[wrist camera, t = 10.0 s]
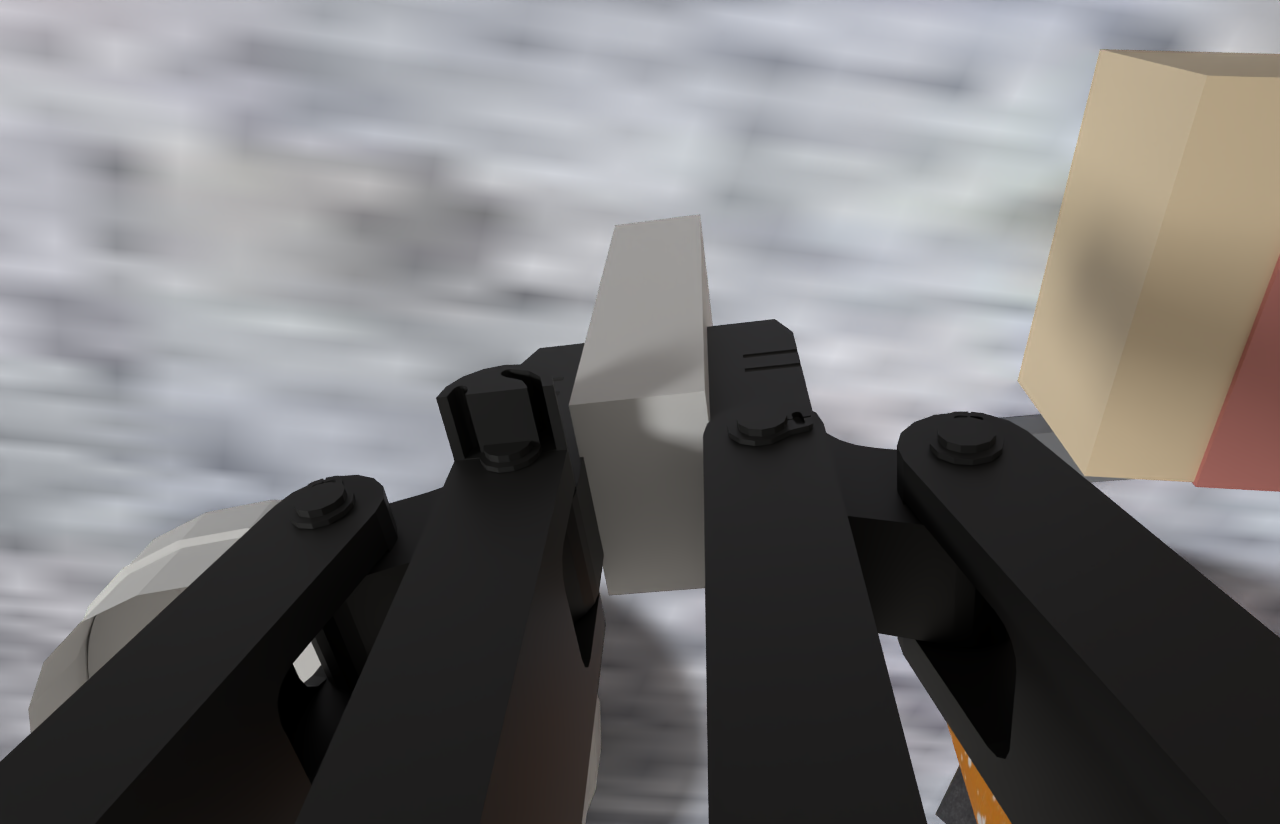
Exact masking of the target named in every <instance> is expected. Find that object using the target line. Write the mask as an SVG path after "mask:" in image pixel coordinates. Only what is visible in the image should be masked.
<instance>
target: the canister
mask: <svg viewBox="0 0 1280 824" xmlns="http://www.w3.org/2000/svg"><path fill="white" fill-rule="evenodd" d="M947 725H948V724H947ZM948 728H949V731H950V735H951V738H952V741H953V745H954V748H955V751H956V755H957V758H958V761H959V767H958V769H957V771H956V773H955V775H954V777H953V779H952V781H951V783H950V785H949V787H948V790H947V792H946V794H945V796H944V798H943V800H942V802H941V804H940V806H939V808H938V810H937V812H936V814H935V815H937V816H938V817H939V818H940V819H941V820H942V821H943V822H945V823H946V824H1012V823H1011V822H1010V820H1009V819H1008V817H1007V815H1006V814H1005V812H1004V811H1003V809H1002V808H1001V806H1000V805H999V803H998V801H997V800H996V798H995V797H994V795H993V794H992V792H991V791H990V789H989V787H988V786H987V784H986V783H985V781H984V780H983V778H982V777H981V775H980V773H979V772H978V770H977V769H976V767H975V766H974V764H973V762H972V761H971V759H970V758H969V756H968V755H967V753H966V752H965V750H964V748H963V747H962V745H961V744H960V742H959V741H958V739H957V738H956V736H955V734H954V733H953V731H952V730H951V728H950V727H949V725H948Z"/></svg>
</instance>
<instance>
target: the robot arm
mask: <svg viewBox="0 0 1280 824" xmlns="http://www.w3.org/2000/svg"><path fill="white" fill-rule="evenodd" d="M436 399H437V403H438V406H439V409H440V413H441V416H442V420H443V423H444V426H445V430H446V433H447V437H448V440H449V443H450V447H451V450H452V453H453V457H454V460H455V461H454V464H453V466H452V468H451V470H450V473H449V475H448V477H447V479H446V482H445V484H444V486H443V487H442V488H439V489H436V490H433V491H431V492H428V493H425V494H421V495H418V496H414V497H411V498H407V499H403V500H400V501H396V502H393V503H389V502H388V499H387V496H386V493H385V491H384V488H383V486H382V485H381V484H380V483H379V482H377V481H376V480H375V479H374V478H370V477H365V476H360V475H349V476H333V477H328V478H326V479H325V480H323V479H320V480H317V481H314V482H312V483H310V484H308V485H307V486H306V487H304V488H301V489H299V490H297V491H295V492H293V493H291V494H290V495H289V496H287V497H286V498H285V499H283V500H282V501H280V502H279V503H278V504H276V505H275V506H274V507H273V508H272V509H271V510H270V511H268V512H267V513H266V514H265V515H264V516H263V517H262V518H261V519H260V520H259V521H258V522H257V523H256V524H255V525H253V526H252V527H251V528H250V529H249V530H248V531H247V532H246V533H245V534H244V535H243V536H242V537H241V538H240V539H238V540H237V541H236V542H235V543H234V544H233V545H232V546H231V547H230V548H229V549H228V550H227V551H226V552H225V553H223V554H222V555H221V556H220V557H219V558H218V559H217V560H216V561H215V562H214V563H213V564H212V565H211V566H210V567H208V568H207V569H206V570H205V571H204V572H203V573H202V574H201V575H200V576H199V577H198V578H197V579H196V580H195V581H193V582H192V583H191V584H190V585H189V586H188V587H187V588H186V589H185V590H184V591H183V592H182V593H181V594H180V595H178V596H177V597H176V598H175V599H174V600H173V601H172V602H171V603H170V604H169V605H168V606H167V607H166V608H165V609H163V610H162V611H161V612H160V613H159V614H158V615H157V616H156V617H155V618H154V619H153V620H152V621H151V622H150V623H148V624H147V625H146V626H145V627H144V628H143V629H142V630H141V631H140V632H139V633H138V634H137V635H136V636H135V637H133V638H132V639H131V640H130V641H129V642H128V643H127V644H126V645H125V646H124V647H123V648H122V649H121V650H120V651H118V652H117V653H116V654H115V655H114V656H113V657H112V658H111V659H110V660H109V661H108V662H107V663H106V664H105V665H103V666H102V667H101V668H100V669H99V670H98V671H97V672H96V673H95V674H94V675H93V676H92V677H91V678H90V679H88V680H87V681H86V682H85V683H84V684H83V685H82V686H81V687H80V688H79V689H78V690H77V691H76V692H75V693H73V694H72V695H71V696H70V697H69V698H68V699H67V700H66V701H65V702H64V703H63V704H62V705H61V706H60V707H58V708H57V709H56V710H55V711H54V712H53V713H52V714H51V715H50V716H49V717H48V718H47V719H46V720H45V721H43V722H42V723H41V724H40V725H39V726H38V727H37V728H36V729H35V730H34V731H33V732H32V733H31V734H30V735H28V736H27V737H26V738H25V739H24V740H23V741H22V742H21V743H20V744H19V745H18V746H17V747H16V748H15V749H13V750H12V751H11V752H10V753H9V754H8V755H7V756H6V757H5V758H4V759H3V760H2V761H1V762H0V824H582V818H583V810H584V801H585V793H586V785H587V777H588V768H589V760H590V752H591V743H592V735H593V727H594V718H595V710H596V702H597V693H598V685H599V677H600V668H601V660H602V652H603V643H604V635H605V627H606V623H605V617H604V611H603V606H602V602H601V597H600V593H599V587H600V580H601V573H602V566H603V569H604V574H605V579H606V584H607V588H608V593H609V595H621V594H633V593H646V592H659V591H672V590H685V589H698V588H705V607H706V672H707V737H708V803H709V824H927V821H926V817H925V813H924V809H923V806H922V802H921V798H920V794H919V790H918V786H917V782H916V779H915V775H914V771H913V767H912V763H911V759H910V755H909V751H908V748H907V744H906V740H905V736H904V732H903V728H902V724H901V721H900V717H899V713H898V709H897V705H896V701H895V697H894V694H893V690H892V686H891V682H890V678H889V674H888V670H887V666H886V663H885V659H884V655H883V651H882V647H881V643H880V639H879V636H878V633H881V634H886V635H892V636H898V641H899V644H900V647H901V650H902V652H903V655H904V656H905V658H906V660H907V661H908V663H909V664H910V666H911V667H912V669H913V671H914V672H915V674H916V675H917V677H918V678H919V680H920V681H921V683H922V685H923V686H924V688H925V689H926V691H927V692H928V694H929V695H930V697H931V699H932V700H933V702H934V703H935V705H936V706H937V708H938V709H939V711H940V713H941V714H942V716H943V717H944V719H945V720H946V722H947V724H948V725H949V727H950V728H951V730H952V731H953V733H954V734H955V736H956V738H957V739H958V741H959V742H960V744H961V745H962V747H963V748H964V750H965V752H966V753H967V755H968V756H969V758H970V759H971V761H972V762H973V764H974V766H975V767H976V769H977V770H978V772H979V773H980V775H981V777H982V778H983V780H984V781H985V783H986V784H987V786H988V787H989V789H990V791H991V792H992V794H993V795H994V797H995V798H996V800H997V801H998V803H999V805H1000V806H1001V808H1002V809H1003V811H1004V812H1005V814H1006V815H1007V817H1008V819H1009V820H1010V822H1011V823H1012V824H1280V638H1279V637H1278V636H1277V635H1275V634H1274V633H1273V632H1272V631H1271V630H1269V629H1268V628H1267V627H1266V626H1264V625H1263V624H1262V623H1261V622H1260V621H1258V620H1257V619H1256V618H1255V617H1253V616H1252V615H1251V614H1250V613H1249V612H1247V611H1246V610H1245V609H1244V608H1243V607H1241V606H1240V605H1239V604H1238V603H1236V602H1235V601H1234V600H1233V599H1232V598H1230V597H1229V596H1228V595H1227V594H1225V593H1224V592H1223V591H1222V590H1221V589H1219V588H1218V587H1217V586H1216V585H1215V584H1213V583H1212V582H1211V581H1210V580H1208V579H1207V578H1206V577H1205V576H1204V575H1202V574H1201V573H1200V572H1199V571H1197V570H1196V569H1195V568H1194V567H1193V566H1191V565H1190V564H1189V563H1188V562H1187V561H1185V560H1184V559H1183V558H1182V557H1180V556H1179V555H1178V554H1177V553H1176V552H1174V551H1173V550H1172V549H1171V548H1169V547H1168V546H1167V545H1166V544H1165V543H1163V542H1162V541H1161V540H1160V539H1159V538H1157V537H1156V536H1155V535H1154V534H1152V533H1151V532H1150V531H1149V530H1148V529H1146V528H1145V527H1144V526H1143V525H1141V524H1140V523H1139V522H1138V521H1137V520H1135V519H1134V518H1133V517H1132V516H1130V515H1129V514H1128V513H1127V512H1126V511H1124V510H1123V509H1122V508H1121V507H1120V506H1118V505H1117V504H1116V503H1115V502H1113V501H1112V500H1111V499H1110V498H1109V497H1107V496H1106V495H1105V494H1104V493H1102V492H1101V491H1100V490H1099V489H1098V488H1096V487H1095V486H1094V485H1093V484H1092V483H1090V482H1089V481H1088V480H1087V479H1085V478H1084V477H1083V476H1082V475H1081V474H1079V473H1078V472H1077V471H1076V470H1074V469H1073V468H1072V467H1071V466H1070V465H1068V464H1067V463H1066V462H1065V461H1064V460H1062V459H1061V458H1060V457H1059V456H1057V455H1056V454H1055V453H1054V452H1053V451H1051V450H1050V449H1049V448H1048V447H1046V446H1045V445H1044V444H1043V443H1042V442H1040V441H1039V440H1038V439H1037V438H1036V437H1034V436H1033V435H1032V434H1031V433H1029V432H1028V431H1027V430H1025V429H1023V428H1021V427H1020V426H1018V425H1016V424H1014V423H1013V422H1011V421H1009V420H1005V419H1002V418H998V417H994V416H991V415H987V414H984V413H977V412H971V413H968V412H952V413H948V414H939V415H933V416H930V417H928V418H925V419H922V420H919V421H916V422H914V423H913V424H911V425H910V426H909V427H908V428H907V429H905V430H904V431H903V432H902V433H901V435H900V438H899V441H898V444H897V450H893V449H881V448H872V447H865V446H859V445H854V444H851V443H848V442H844V441H841V440H839V439H837V438H835V437H833V436H831V435H829V434H827V433H826V431H825V427H824V424H823V422H822V421H821V419H820V418H819V416H818V415H817V413H816V412H814V411H812V407H811V403H810V399H809V395H808V391H807V387H806V383H805V379H804V375H803V371H802V367H801V364H800V359H799V355H798V352H797V347H796V343H795V339H794V335H793V332H792V331H791V330H789V329H788V328H786V327H785V326H784V325H782V324H781V323H779V322H778V321H777V320H775V319H772V320H763V321H754V322H745V323H736V324H727V325H719V326H713V324H712V315H711V306H710V297H709V289H708V280H707V271H706V262H705V254H704V245H703V236H702V228H701V219H700V214H699V215H692V216H684V217H676V218H668V219H660V220H653V221H645V222H637V223H629V224H621V225H615V228H614V232H613V236H612V240H611V244H610V247H609V251H608V255H607V259H606V263H605V267H604V271H603V275H602V278H601V282H600V286H599V290H598V294H597V298H596V302H595V305H594V309H593V313H592V317H591V321H590V325H589V329H588V332H587V336H586V340H585V343H582V344H573V345H564V346H555V347H546V348H539V349H538V350H537V351H536V352H535V353H534V354H532V355H531V356H530V357H529V358H528V359H527V360H525V361H524V362H523V363H522V364H521V365H502V366H497V367H492V368H487V369H483V370H480V371H477V372H474V373H472V374H469V375H466V376H464V377H462V378H460V379H458V380H457V381H455V382H453V383H452V384H450V385H448V386H447V387H445V389H444V390H443V391H442V392H441V393H440V394H439V395H438V396H437V397H436ZM310 642H311V643H312V645H313V647H314V650H315V652H316V654H317V656H318V659H319V661H320V663H321V665H320V667H319V668H318V669H317V670H316V672H315V673H314V674H313V676H311V677H310V678H309V679H308V680H306V681H305V682H304V683H303V682H302V680H301V679H300V678H299V676H298V674H297V672H296V669H295V667H294V665H293V663H294V662H295V661H296V659H297V658H298V657H299V656H300V655H301V653H302V652H303V651H304V650H305V649H306V647H307V646H308V645H309V644H310Z"/></svg>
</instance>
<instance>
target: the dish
mask: <svg viewBox="0 0 1280 824" xmlns="http://www.w3.org/2000/svg"><path fill="white" fill-rule="evenodd" d="M280 501H282V500H268V501H263V502H258V503H253V504H247V505H242V506H237V507H232V508H226V509H221V510H216V511H211V512H206V513H204V514H202V515H200V516H198V517H196V518H194V519H192V520H190V521H188V522H186V523H184V524H183V525H181V526H179V527H177V528H175V529H173V530H171V531H169V532H167V533H165V534H163V535H161V536H159V537H157V538H155V539H153V541H152V542H151V543H150V544H149V545H148V546H147V547H146V548H145V549H144V550H143V551H142V552H141V553H140V554H139V555H138V556H137V557H136V558H135V559H134V560H133V561H132V562H131V563H130V564H129V565H128V566H126V567H124V568H123V569H122V570H121V571H120V572H119V573H118V574H117V576H116V577H115V578H114V579H113V580H112V581H111V582H110V583H109V584H108V585H107V587H106V588H105V589H104V590H103V591H102V592H101V593H100V594H99V595H98V596H97V598H96V599H95V600H94V601H93V602H92V603H91V604H90V605H89V606H88V608H87V611H86V614H85V617H84V619H83V620H82V621H81V622H80V623H79V624H78V625H77V627H76V628H75V629H74V630H73V631H72V632H71V633H70V634H69V635H68V636H67V637H66V639H65V640H64V641H63V642H62V643H61V644H60V645H59V646H58V647H57V648H56V649H55V651H54V652H53V653H52V654H51V655H50V656H49V657H48V658H47V659H46V660H45V661H44V663H43V666H42V669H41V672H40V675H39V678H38V681H37V684H36V687H35V691H34V694H33V697H32V700H31V703H30V706H29V719H30V730H31V733H32V732H33V731H34V730H35V729H36V728H37V727H38V726H39V725H40V724H41V723H42V722H43V721H45V720H46V719H47V718H48V717H49V716H50V715H51V714H52V713H53V712H54V711H55V710H56V709H57V708H58V707H60V706H61V705H62V704H63V703H64V702H65V701H66V700H67V699H68V698H69V697H70V696H71V695H72V694H73V693H75V692H76V691H77V690H78V689H79V688H80V687H81V686H82V685H83V684H84V683H85V682H86V681H87V680H88V679H90V678H91V677H92V676H93V675H94V674H95V673H96V672H97V671H98V670H99V669H100V668H101V667H102V666H103V665H105V664H106V663H107V662H108V661H109V660H110V659H111V658H112V657H113V656H114V655H115V654H116V653H117V652H118V651H120V650H121V649H122V648H123V647H124V646H125V645H126V644H127V643H128V642H129V641H130V640H131V639H132V638H133V637H135V636H136V635H137V634H138V633H139V632H140V631H141V630H142V629H143V628H144V627H145V626H146V625H147V624H148V623H150V622H151V621H152V620H153V619H154V618H155V617H156V616H157V615H158V614H159V613H160V612H161V611H162V610H163V609H165V608H166V607H167V606H168V605H169V604H170V603H171V602H172V601H173V600H174V599H175V598H176V597H177V596H178V595H180V594H181V593H182V592H183V591H184V590H185V589H186V588H187V587H188V586H189V585H190V584H191V583H192V582H193V581H195V580H196V579H197V578H198V577H199V576H200V575H201V574H202V573H203V572H204V571H205V570H206V569H207V568H208V567H210V566H211V565H212V564H213V563H214V562H215V561H216V560H217V559H218V558H219V557H220V556H221V555H222V554H223V553H225V552H226V551H227V550H228V549H229V548H230V547H231V546H232V545H233V544H234V543H235V542H236V541H237V540H238V539H240V538H241V537H242V536H243V535H244V534H245V533H246V532H247V531H248V530H249V529H250V528H251V527H252V526H253V525H255V524H256V523H257V522H258V521H259V520H260V519H261V518H262V517H263V516H264V515H265V514H266V513H267V512H268V511H270V510H271V509H272V508H273V507H274V506H275V505H276V504H278V503H279V502H280ZM293 665H294V667H295V669H296V672H297V674H298V676H299V678H300V679H301V680H302V682H303V683H304V682H305V681H306V680H308V679H309V678H310V677H311V676H313V674H314V673H315V672H316V670H317V669H318V668H319V667H320V665H321V663H320V661H319V659H318V656H317V654H316V652H315V650H314V647H313V645H312V643H311V642H310V644H309V645H308V646H307V647H306V649H305V650H304V651H303V652H302V653H301V655H300V656H299V657H298V658H297V659H296V661H295V662H294V663H293ZM600 755H601V717H600V700H599V698H598V695H597V702H596V710H595V718H594V727H593V735H592V743H591V752H590V760H589V768H588V777H587V785H586V793H585V801H584V810H583V818H582V824H586V816H587V811H588V809H589V806H590V803H591V801H592V798H593V795H594V793H595V790H596V788H597V785H596V782H597V775H598V769H599V762H600Z"/></svg>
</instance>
